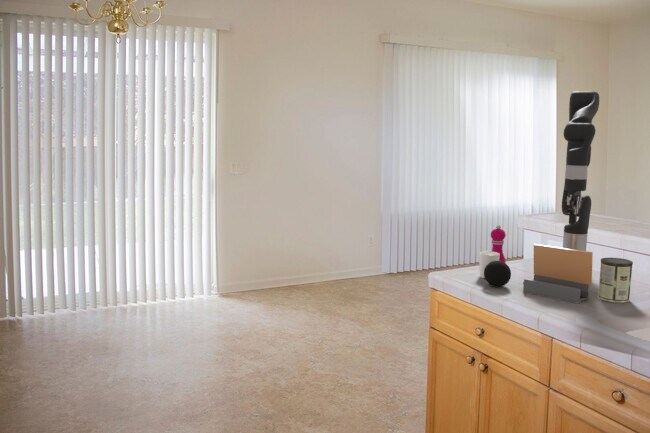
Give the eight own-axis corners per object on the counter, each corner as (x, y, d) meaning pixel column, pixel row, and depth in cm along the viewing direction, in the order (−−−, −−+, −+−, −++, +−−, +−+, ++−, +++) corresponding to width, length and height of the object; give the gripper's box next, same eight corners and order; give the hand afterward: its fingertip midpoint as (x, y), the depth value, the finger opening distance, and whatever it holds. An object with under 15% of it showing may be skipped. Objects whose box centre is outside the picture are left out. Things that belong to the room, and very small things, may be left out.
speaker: (495, 281, 235) (497, 257, 233) (515, 287, 226) (517, 262, 225) (477, 284, 229) (478, 259, 228) (497, 291, 221) (498, 264, 219)
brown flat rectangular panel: (533, 274, 227) (534, 273, 227) (590, 284, 213) (591, 283, 214) (533, 244, 223) (534, 243, 224) (591, 253, 210) (592, 252, 210)
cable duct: (534, 287, 227) (535, 274, 226) (588, 297, 214) (589, 284, 213) (523, 292, 220) (524, 279, 219) (578, 303, 207) (579, 289, 206)
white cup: (494, 274, 246) (496, 251, 244) (500, 279, 238) (502, 255, 237) (475, 274, 246) (477, 251, 244) (481, 279, 238) (482, 255, 236)
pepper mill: (505, 274, 247) (508, 226, 244) (487, 273, 248) (490, 226, 245) (504, 270, 254) (506, 224, 251) (486, 269, 255) (489, 223, 252)
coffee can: (608, 293, 220) (611, 256, 218) (635, 300, 211) (639, 261, 209) (591, 297, 215) (594, 259, 212) (618, 304, 206) (622, 264, 204)
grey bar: (524, 285, 226) (525, 279, 225) (587, 297, 210) (588, 291, 210) (521, 286, 224) (522, 280, 223) (585, 299, 209) (586, 292, 208)
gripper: (572, 176, 227) (568, 220, 229) (558, 177, 217) (555, 224, 220) (592, 177, 222) (588, 223, 224) (580, 179, 212) (576, 227, 215)
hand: (572, 223), depth 222 cm, fingers closed
